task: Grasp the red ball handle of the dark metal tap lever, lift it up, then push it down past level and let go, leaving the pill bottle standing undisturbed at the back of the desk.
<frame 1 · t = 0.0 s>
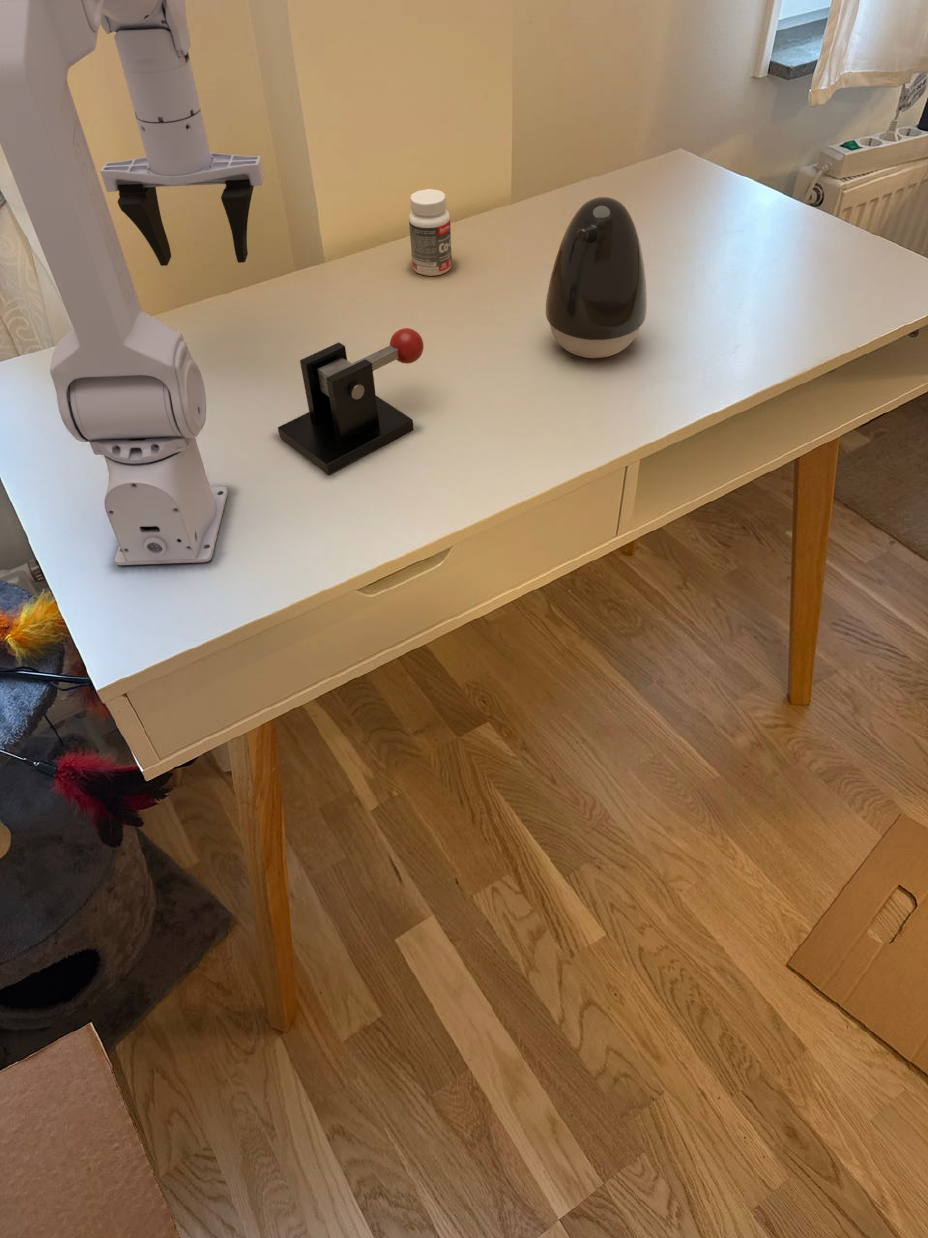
hand: (204, 259, 93), 10 cm above the table, tool pointing down, fingers open, 7 cm apart
lever: (374, 361, 86), point 6 cm above the table, hinge at 0.0°
pill bottle: (432, 268, 111), on the table
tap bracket: (346, 433, 89), on the table
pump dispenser: (592, 347, 98), on the table
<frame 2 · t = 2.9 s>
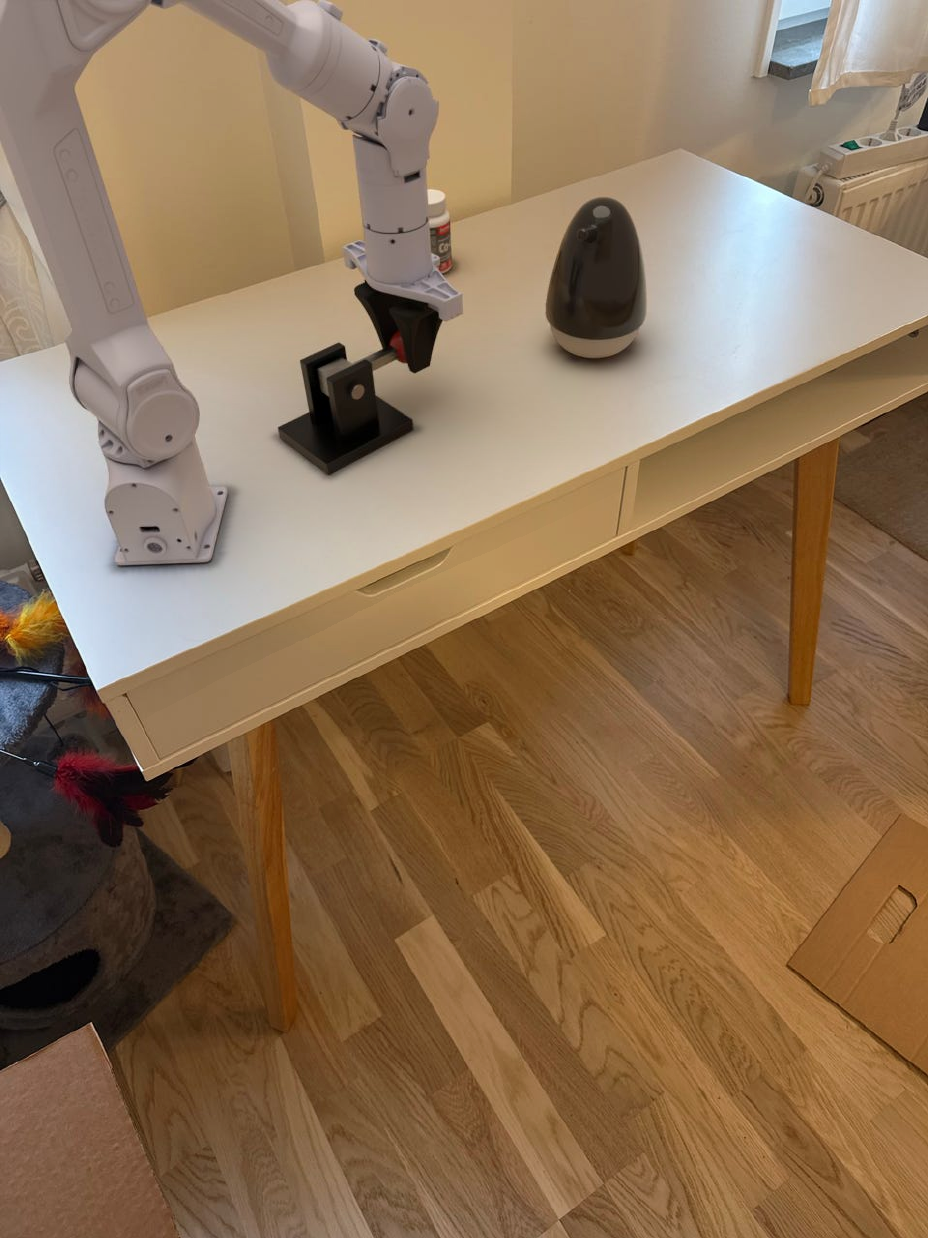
hand: (408, 360, 89), 4 cm above the table, tool pointing down, fingers closed on lever, 3 cm apart
lever: (374, 361, 86), point 6 cm above the table, hinge at 0.0°, touching gripper
everything else where it was.
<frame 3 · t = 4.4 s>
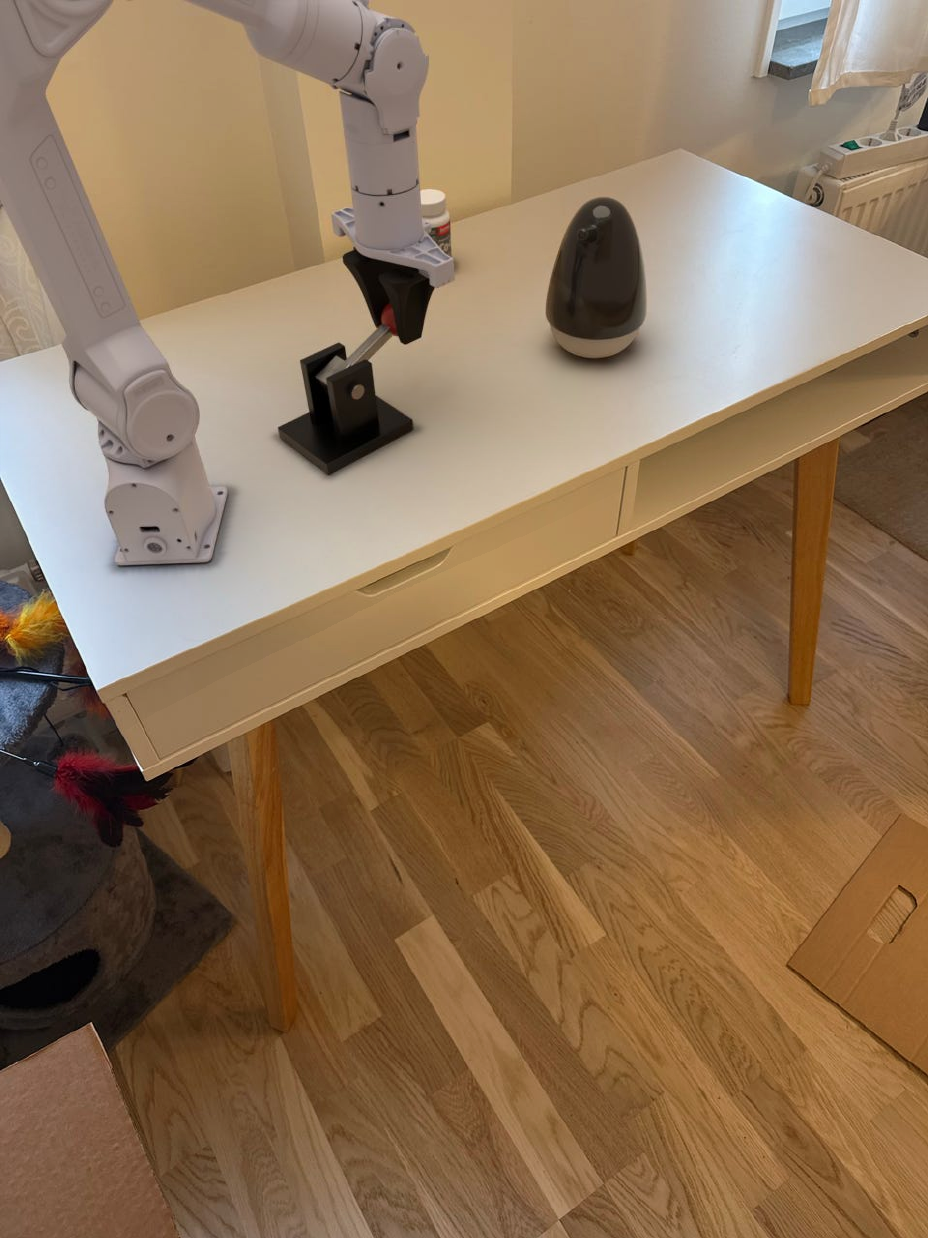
hand: (398, 332, 86), 8 cm above the table, tool pointing down, fingers closed on lever, 3 cm apart
lever: (369, 347, 85), point 8 cm above the table, hinge at 22.7°, touching gripper
everything else where it was.
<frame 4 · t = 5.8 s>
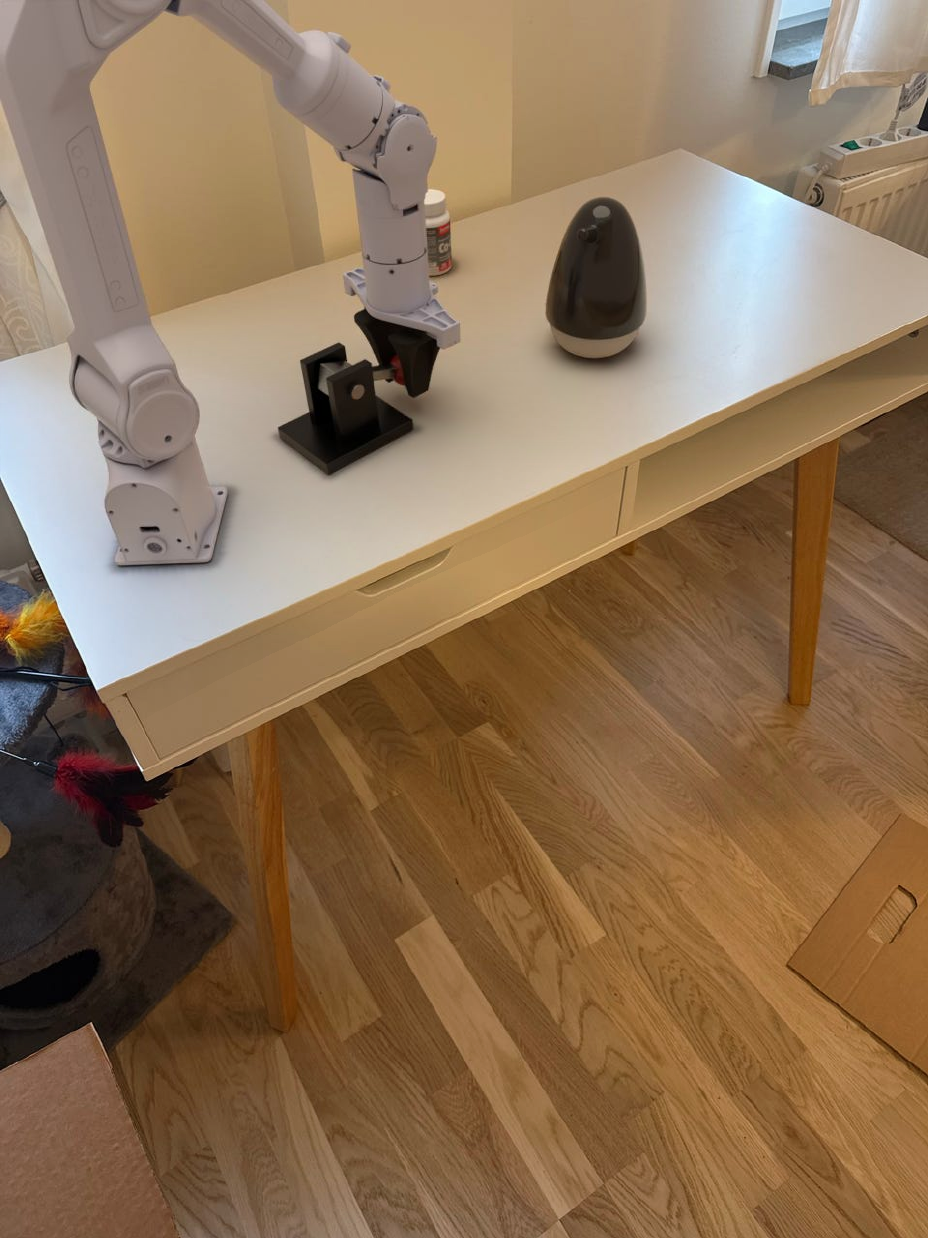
hand: (407, 385, 91), 2 cm above the table, tool pointing down, fingers closed on lever, 3 cm apart
lever: (373, 373, 87), point 5 cm above the table, hinge at -16.8°, touching gripper
everything else where it was.
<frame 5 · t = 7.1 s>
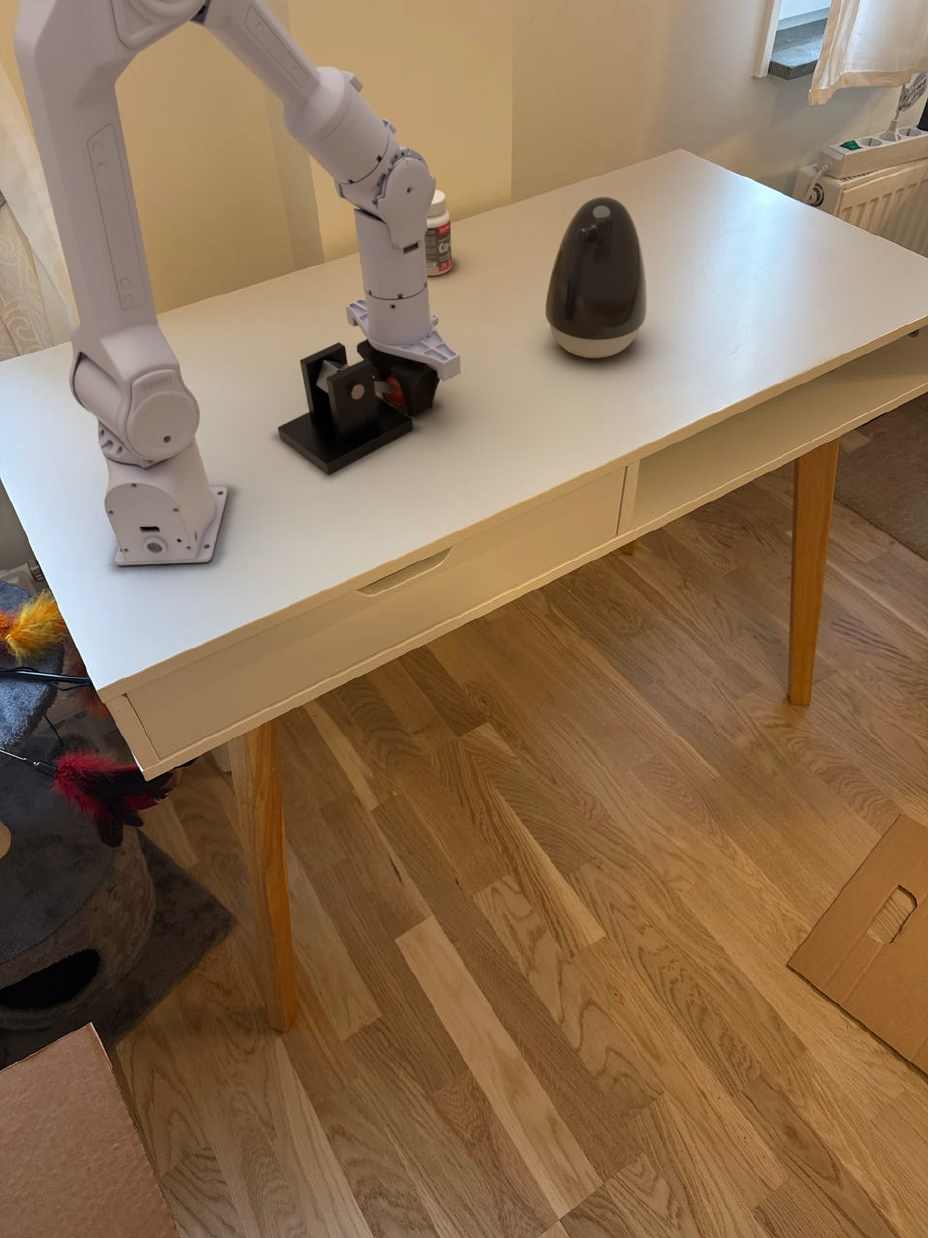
hand: (408, 412, 93), 0 cm above the table, tool pointing down, fingers closed on lever, 3 cm apart
lever: (371, 383, 87), point 4 cm above the table, hinge at -31.2°, touching gripper
everything else where it was.
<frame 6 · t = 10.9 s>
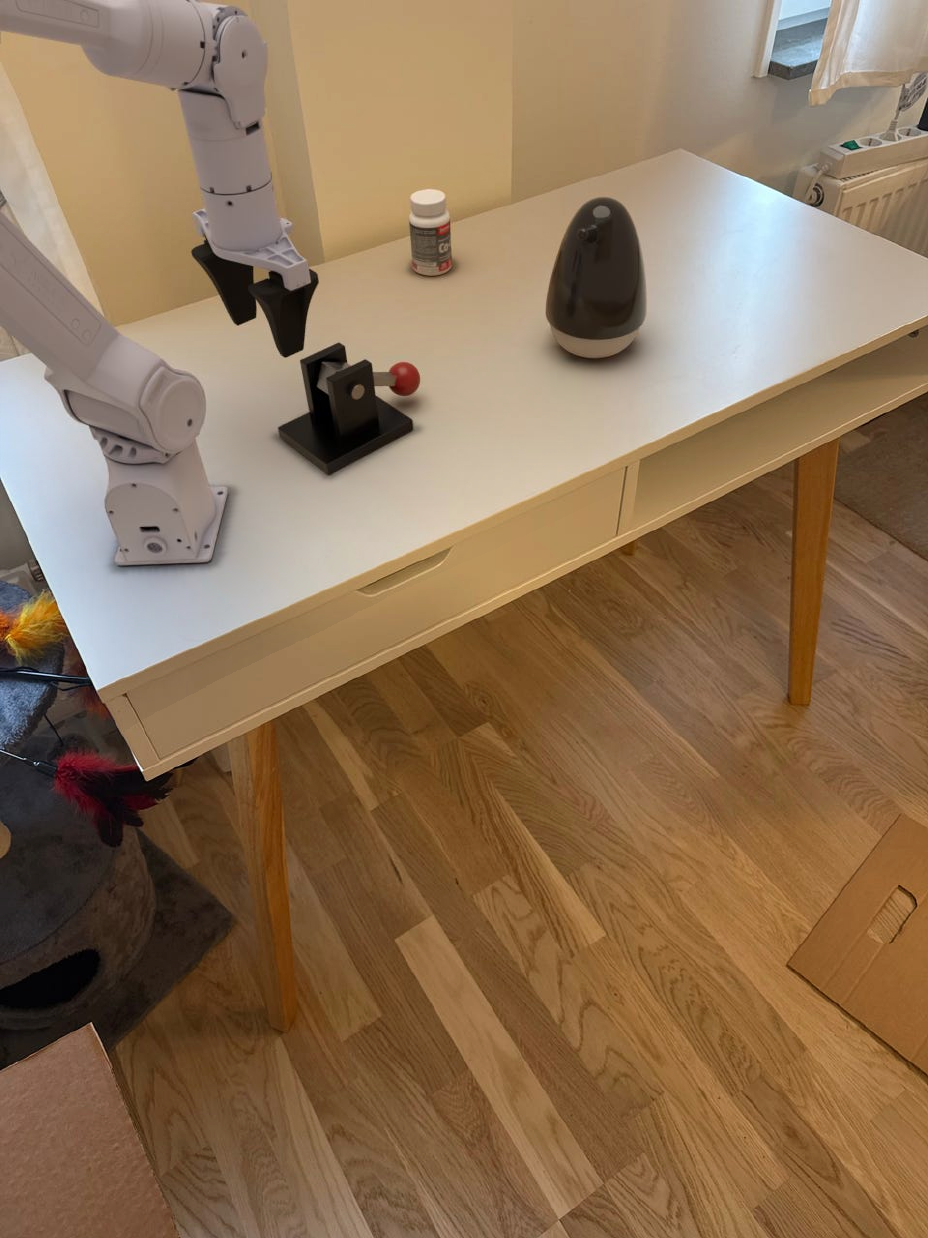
hand: (268, 336, 83), 9 cm above the table, tool pointing down, fingers open, 7 cm apart
lever: (372, 378, 87), point 4 cm above the table, hinge at -24.2°
everything else where it was.
at the end: lever reached +23° during the clip, -24° at the end; lever at -24° (first picture: +0°); pill bottle moved 0.2 cm from its start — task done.
